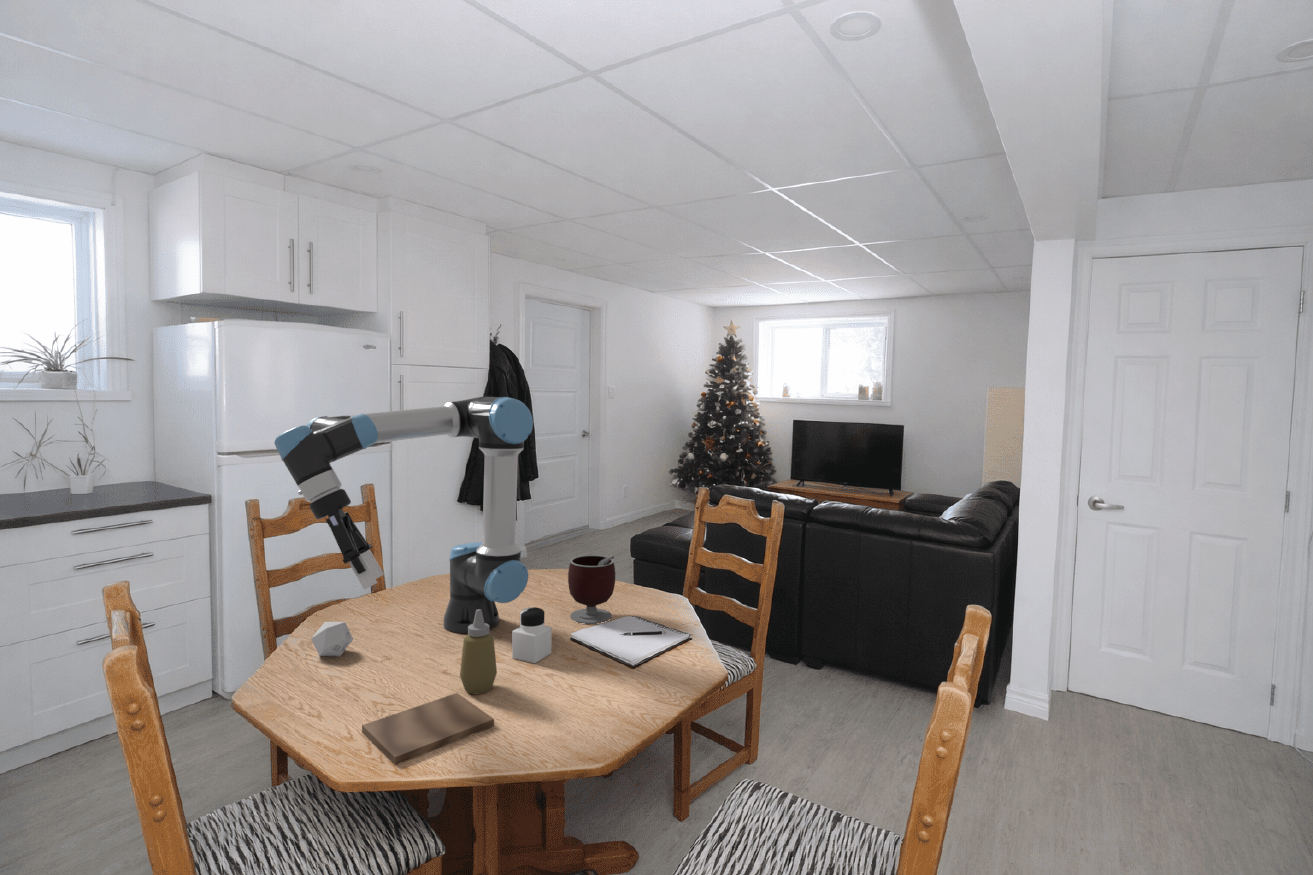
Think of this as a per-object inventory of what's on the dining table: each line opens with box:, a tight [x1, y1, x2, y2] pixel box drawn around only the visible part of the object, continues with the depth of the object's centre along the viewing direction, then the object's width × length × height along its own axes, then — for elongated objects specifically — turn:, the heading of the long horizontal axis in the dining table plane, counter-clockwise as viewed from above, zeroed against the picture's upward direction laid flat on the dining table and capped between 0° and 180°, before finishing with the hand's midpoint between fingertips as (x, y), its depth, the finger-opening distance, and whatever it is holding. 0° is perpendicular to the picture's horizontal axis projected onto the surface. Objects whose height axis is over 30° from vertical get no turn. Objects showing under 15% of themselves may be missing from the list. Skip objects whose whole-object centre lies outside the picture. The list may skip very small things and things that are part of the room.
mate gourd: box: [567, 554, 616, 625], centre depth 192 cm, size 16×14×20 cm
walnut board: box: [361, 692, 495, 766], centre depth 128 cm, size 20×15×2 cm
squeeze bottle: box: [459, 609, 498, 695], centre depth 145 cm, size 8×8×18 cm
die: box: [310, 621, 354, 657], centre depth 162 cm, size 8×9×10 cm
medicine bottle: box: [511, 606, 552, 664], centre depth 164 cm, size 7×7×12 cm
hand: (374, 581), depth 141 cm, fingers open, 13 cm apart
